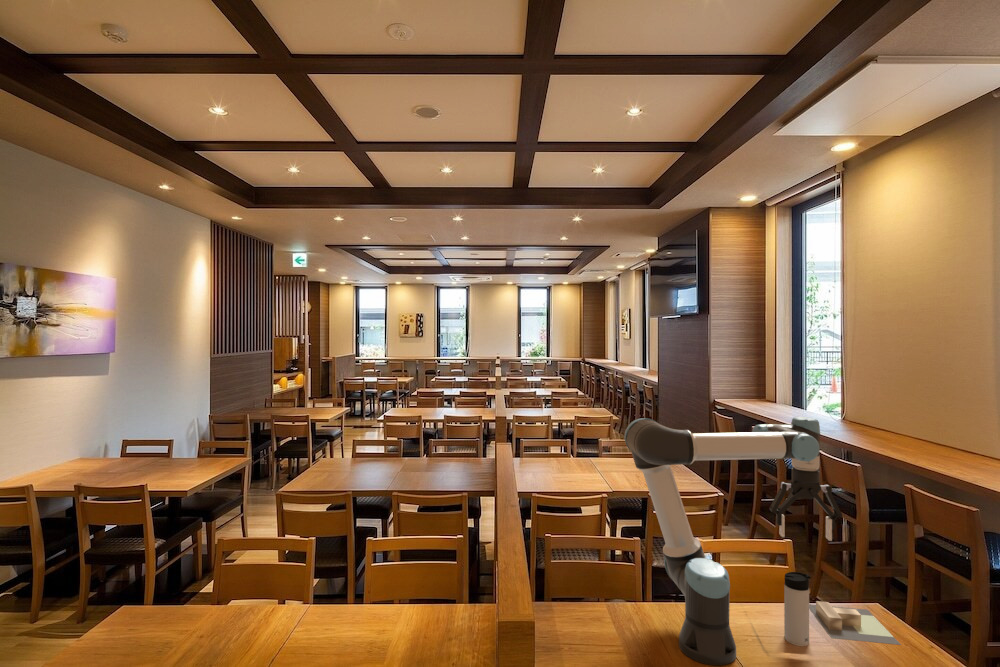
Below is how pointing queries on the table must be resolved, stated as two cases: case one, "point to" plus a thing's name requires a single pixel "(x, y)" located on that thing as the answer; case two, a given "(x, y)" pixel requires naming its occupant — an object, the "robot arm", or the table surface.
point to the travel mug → (796, 608)
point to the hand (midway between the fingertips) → (805, 537)
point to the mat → (860, 629)
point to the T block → (837, 616)
